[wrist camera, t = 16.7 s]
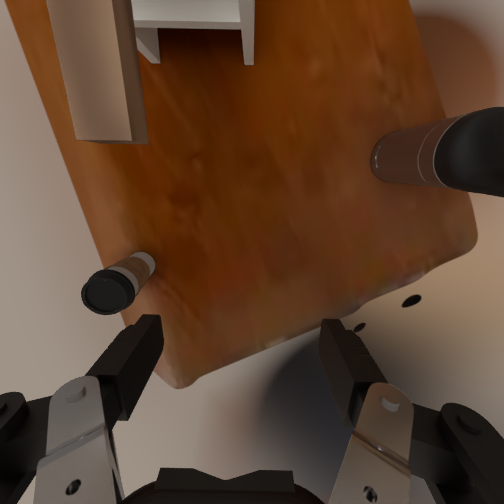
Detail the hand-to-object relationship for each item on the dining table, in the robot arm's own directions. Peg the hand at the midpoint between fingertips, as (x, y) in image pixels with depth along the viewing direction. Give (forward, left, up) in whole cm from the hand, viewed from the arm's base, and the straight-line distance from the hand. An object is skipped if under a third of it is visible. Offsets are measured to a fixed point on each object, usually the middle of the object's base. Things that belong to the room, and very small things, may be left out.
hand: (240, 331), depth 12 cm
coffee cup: (+25, +14, -40) cm, 49 cm away
